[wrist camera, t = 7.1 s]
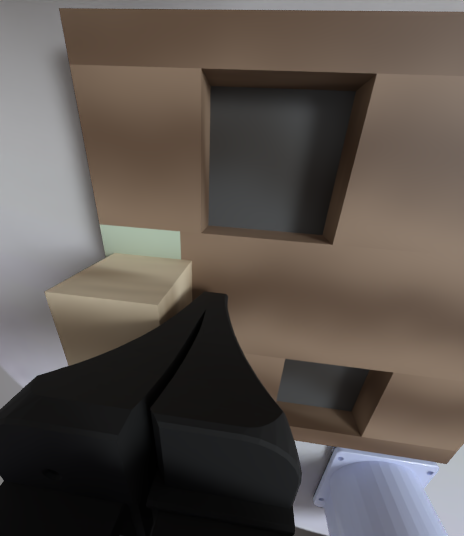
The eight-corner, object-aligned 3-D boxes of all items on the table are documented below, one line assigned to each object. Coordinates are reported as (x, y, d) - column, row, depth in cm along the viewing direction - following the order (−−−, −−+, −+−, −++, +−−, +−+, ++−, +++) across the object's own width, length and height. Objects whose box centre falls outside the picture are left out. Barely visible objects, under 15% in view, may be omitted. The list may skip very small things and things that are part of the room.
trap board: (425, 431, 17) (446, 463, 15) (147, 391, 18) (135, 415, 16) (687, 53, 8) (821, 15, 6) (98, 41, 9) (59, 8, 7)
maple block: (192, 325, 12) (165, 389, 9) (125, 317, 13) (71, 375, 9) (191, 260, 11) (157, 305, 7) (114, 252, 11) (44, 291, 7)
